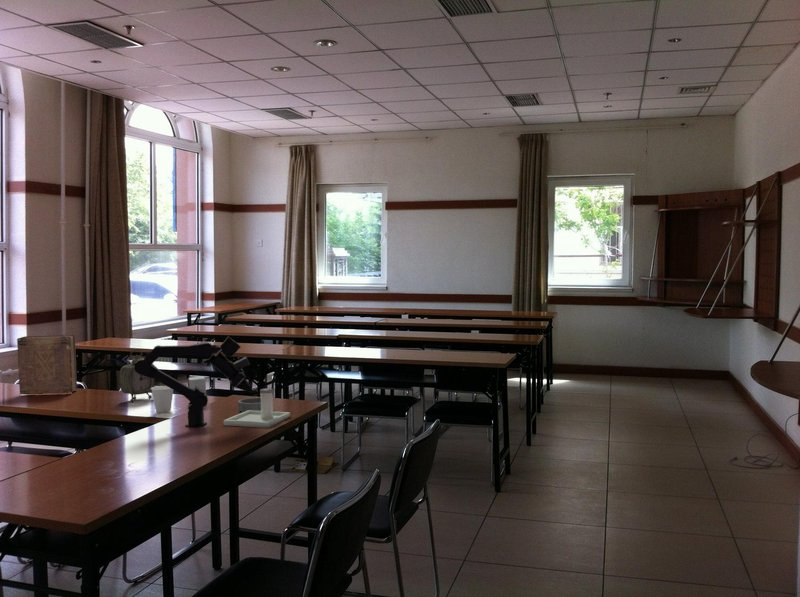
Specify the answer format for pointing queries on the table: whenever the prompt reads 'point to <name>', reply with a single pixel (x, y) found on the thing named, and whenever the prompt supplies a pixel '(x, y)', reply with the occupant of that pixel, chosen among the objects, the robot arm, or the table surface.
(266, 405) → the canister
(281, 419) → the tray
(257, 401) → the collar
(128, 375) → the tabletop clock
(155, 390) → the cup
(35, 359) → the book
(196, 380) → the supplement box
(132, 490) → the table surface
